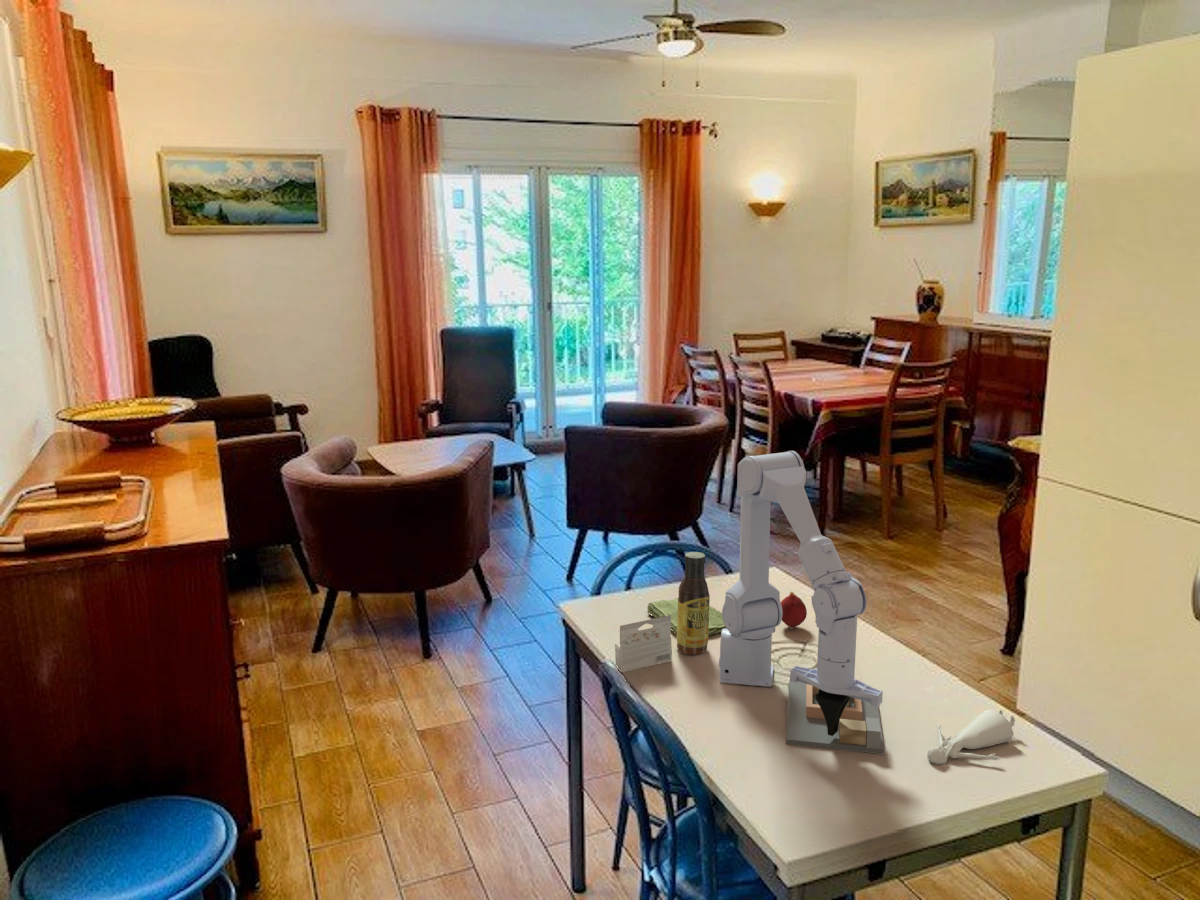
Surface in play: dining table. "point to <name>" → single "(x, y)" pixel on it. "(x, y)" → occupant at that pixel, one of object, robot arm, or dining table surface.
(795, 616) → the onion
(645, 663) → the ink cartridge box
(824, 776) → the dining table surface
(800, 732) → the housing
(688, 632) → the sauce bottle
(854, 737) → the tan eraser block
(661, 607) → the washcloth
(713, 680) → the dining table surface
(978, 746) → the woman figurine
